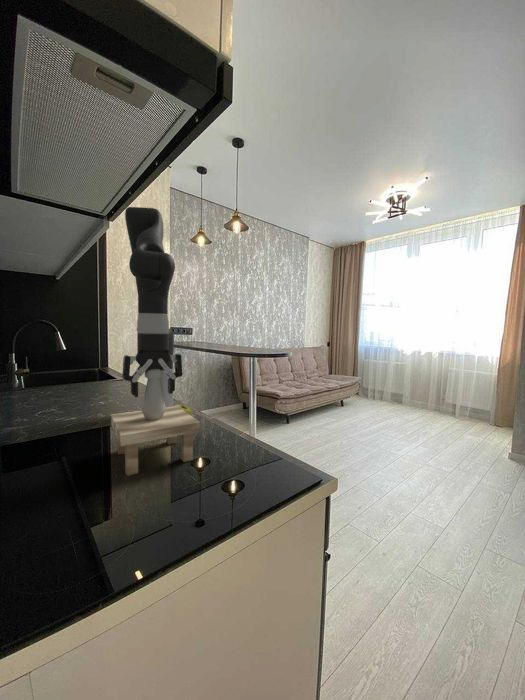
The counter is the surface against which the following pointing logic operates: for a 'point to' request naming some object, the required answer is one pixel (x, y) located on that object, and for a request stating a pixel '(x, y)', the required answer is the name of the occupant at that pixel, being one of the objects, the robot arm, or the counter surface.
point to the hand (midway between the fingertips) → (153, 394)
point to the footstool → (153, 433)
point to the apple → (185, 408)
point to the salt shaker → (153, 396)
